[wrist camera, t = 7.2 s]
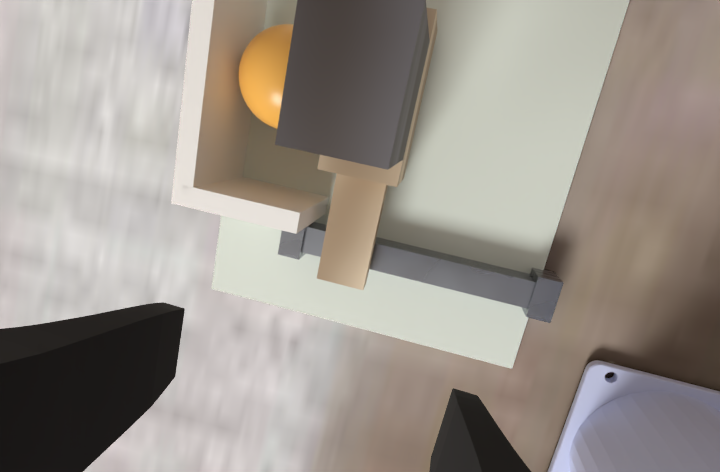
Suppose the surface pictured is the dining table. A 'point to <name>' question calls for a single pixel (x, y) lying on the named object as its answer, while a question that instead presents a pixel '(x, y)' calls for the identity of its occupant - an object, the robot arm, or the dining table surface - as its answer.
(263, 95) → the ball
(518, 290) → the rail
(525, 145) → the mat
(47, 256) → the dining table surface
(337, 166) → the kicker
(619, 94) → the dining table surface
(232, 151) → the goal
